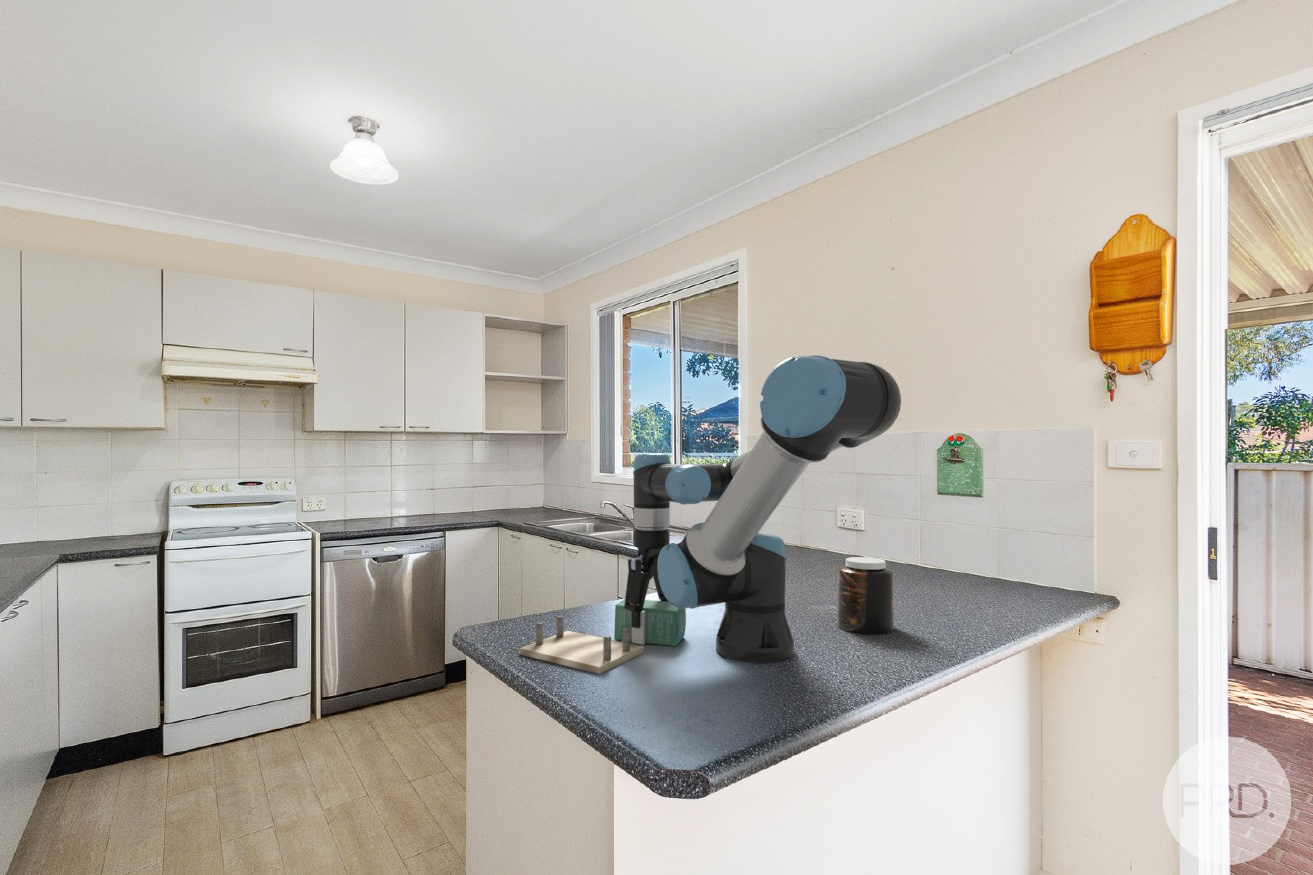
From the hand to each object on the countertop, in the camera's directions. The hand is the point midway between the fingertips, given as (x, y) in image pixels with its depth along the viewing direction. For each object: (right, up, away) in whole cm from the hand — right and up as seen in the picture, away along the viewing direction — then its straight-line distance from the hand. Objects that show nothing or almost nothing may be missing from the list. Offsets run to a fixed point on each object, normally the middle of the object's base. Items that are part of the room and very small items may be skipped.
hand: (650, 637), depth 131 cm
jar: (+48, -1, +10) cm, 49 cm away
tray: (-13, 0, -10) cm, 16 cm away
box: (0, -1, 0) cm, 1 cm away
